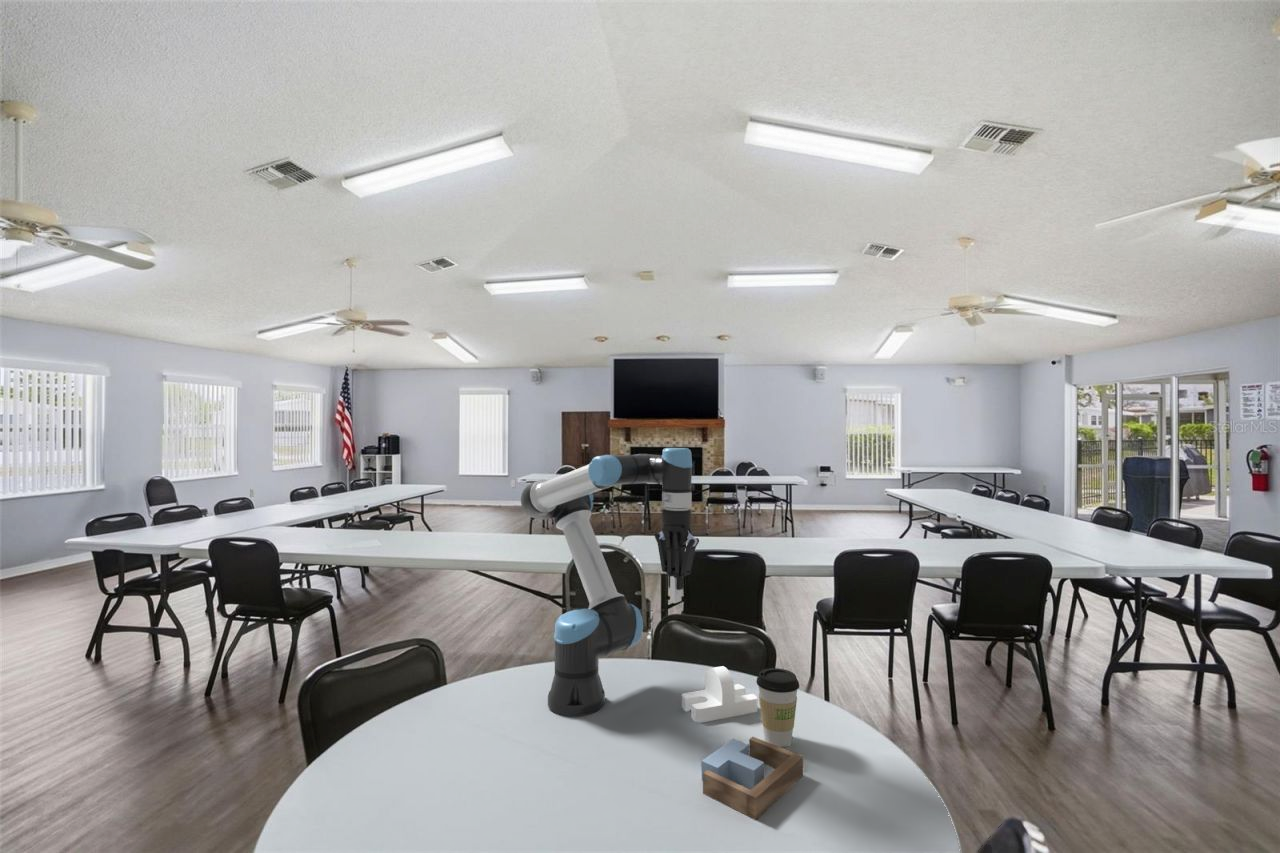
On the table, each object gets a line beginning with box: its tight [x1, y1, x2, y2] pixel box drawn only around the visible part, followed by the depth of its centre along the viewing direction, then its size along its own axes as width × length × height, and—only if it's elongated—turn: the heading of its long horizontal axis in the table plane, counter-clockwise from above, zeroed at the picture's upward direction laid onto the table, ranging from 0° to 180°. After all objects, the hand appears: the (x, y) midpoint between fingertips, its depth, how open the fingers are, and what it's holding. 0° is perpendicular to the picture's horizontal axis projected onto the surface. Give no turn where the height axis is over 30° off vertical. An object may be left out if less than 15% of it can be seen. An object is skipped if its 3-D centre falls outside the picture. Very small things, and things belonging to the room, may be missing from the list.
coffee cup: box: [755, 667, 800, 748], centre depth 135 cm, size 10×10×15 cm
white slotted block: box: [681, 665, 758, 723], centre depth 151 cm, size 10×18×11 cm, turn 111°
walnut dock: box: [702, 736, 804, 821], centre depth 118 cm, size 12×19×4 cm, turn 138°
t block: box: [700, 738, 765, 790], centre depth 120 cm, size 10×12×4 cm
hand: (675, 601), depth 147 cm, fingers closed
